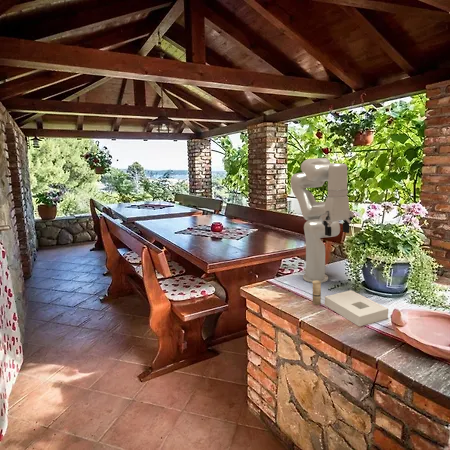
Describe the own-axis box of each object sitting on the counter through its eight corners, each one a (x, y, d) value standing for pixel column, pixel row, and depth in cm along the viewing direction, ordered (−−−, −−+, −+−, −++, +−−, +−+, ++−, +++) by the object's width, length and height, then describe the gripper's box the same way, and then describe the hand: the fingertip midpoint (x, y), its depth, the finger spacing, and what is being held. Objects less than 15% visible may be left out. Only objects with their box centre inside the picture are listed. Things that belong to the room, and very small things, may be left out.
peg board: (324, 305, 138) (324, 296, 137) (350, 298, 143) (351, 290, 142) (359, 326, 120) (359, 316, 119) (387, 318, 125) (388, 308, 124)
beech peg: (310, 302, 141) (310, 281, 139) (317, 301, 142) (317, 279, 140) (315, 305, 138) (315, 284, 136) (322, 304, 139) (322, 282, 137)
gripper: (346, 191, 140) (346, 230, 144) (314, 195, 134) (315, 235, 137) (360, 192, 134) (359, 232, 137) (327, 196, 127) (327, 238, 130)
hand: (337, 234), depth 137 cm, fingers open, 9 cm apart
